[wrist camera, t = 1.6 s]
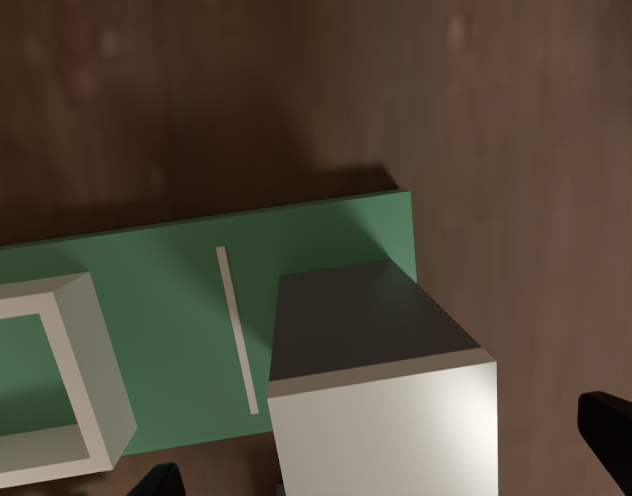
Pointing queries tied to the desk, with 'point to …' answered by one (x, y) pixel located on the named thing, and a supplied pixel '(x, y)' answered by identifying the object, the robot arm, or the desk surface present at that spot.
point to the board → (162, 327)
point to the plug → (378, 389)
